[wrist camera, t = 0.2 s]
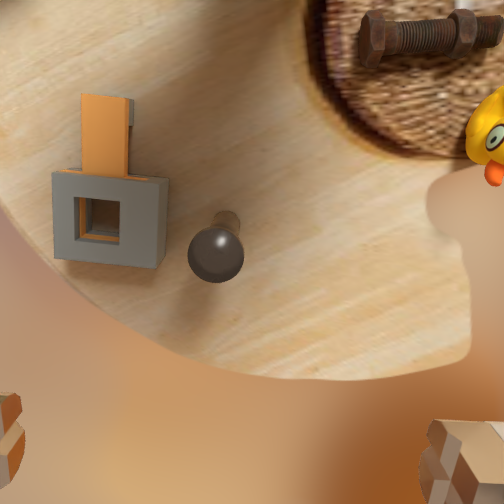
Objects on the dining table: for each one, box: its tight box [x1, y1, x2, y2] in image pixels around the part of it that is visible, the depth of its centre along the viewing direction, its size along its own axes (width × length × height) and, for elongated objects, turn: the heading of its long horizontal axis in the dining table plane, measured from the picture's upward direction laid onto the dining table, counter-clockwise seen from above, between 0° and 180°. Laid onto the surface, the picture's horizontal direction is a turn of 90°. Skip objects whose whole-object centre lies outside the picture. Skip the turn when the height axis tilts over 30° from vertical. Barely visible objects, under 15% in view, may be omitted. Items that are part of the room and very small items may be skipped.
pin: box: [188, 211, 244, 283], centre depth 49 cm, size 6×6×14 cm
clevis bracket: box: [52, 93, 169, 269], centre depth 52 cm, size 19×12×6 cm, turn 174°
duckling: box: [466, 85, 504, 186], centre depth 47 cm, size 11×5×10 cm, turn 161°
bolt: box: [359, 9, 504, 68], centre depth 47 cm, size 6×5×15 cm
